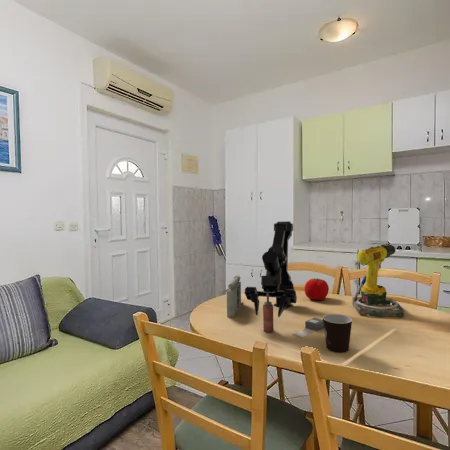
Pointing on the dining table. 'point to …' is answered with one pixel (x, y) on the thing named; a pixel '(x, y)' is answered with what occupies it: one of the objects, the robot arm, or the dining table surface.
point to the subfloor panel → (303, 333)
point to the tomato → (316, 289)
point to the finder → (314, 324)
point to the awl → (268, 316)
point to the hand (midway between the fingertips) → (267, 315)
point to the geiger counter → (233, 296)
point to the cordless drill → (375, 285)
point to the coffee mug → (337, 332)
